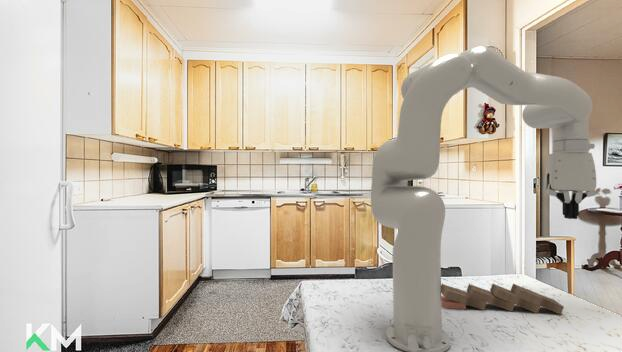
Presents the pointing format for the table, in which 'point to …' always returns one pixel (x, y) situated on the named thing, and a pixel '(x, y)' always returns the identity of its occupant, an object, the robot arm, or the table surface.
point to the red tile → (451, 303)
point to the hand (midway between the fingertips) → (570, 218)
